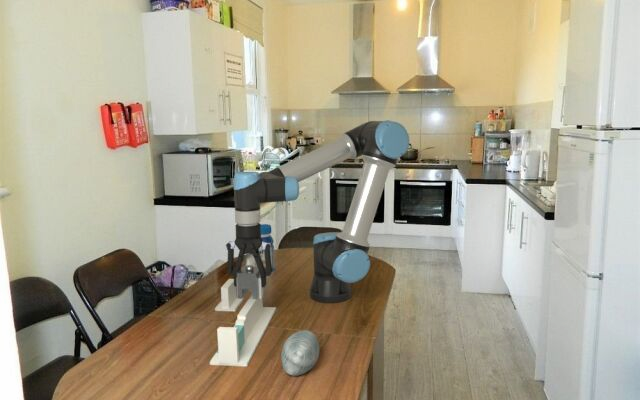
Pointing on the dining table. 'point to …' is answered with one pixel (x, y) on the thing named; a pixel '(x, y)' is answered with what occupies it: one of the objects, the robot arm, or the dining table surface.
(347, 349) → the dining table surface
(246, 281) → the grey cube with knob
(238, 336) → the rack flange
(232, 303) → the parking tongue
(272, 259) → the beverage bottle
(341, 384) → the dining table surface
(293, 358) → the grey streaked ovoid
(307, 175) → the robot arm
